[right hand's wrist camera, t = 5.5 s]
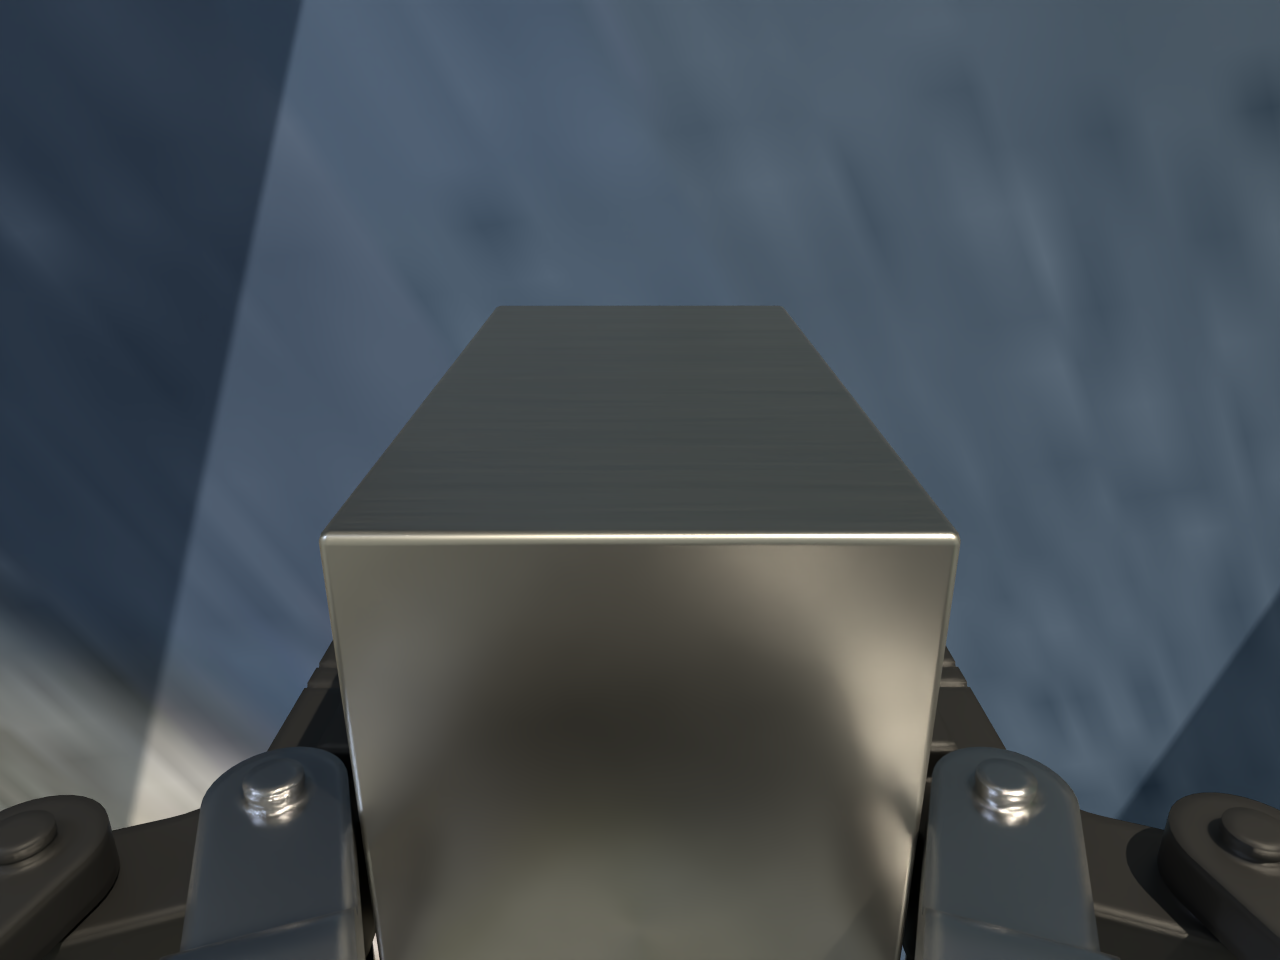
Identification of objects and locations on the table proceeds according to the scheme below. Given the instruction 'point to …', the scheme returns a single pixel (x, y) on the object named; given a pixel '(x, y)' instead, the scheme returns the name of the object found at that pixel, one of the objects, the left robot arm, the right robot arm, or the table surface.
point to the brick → (639, 648)
